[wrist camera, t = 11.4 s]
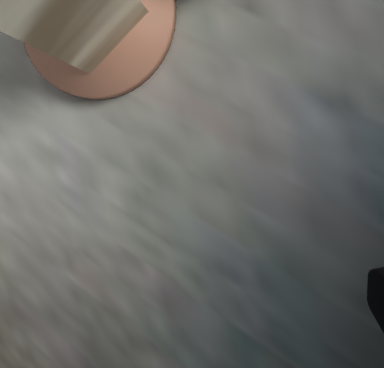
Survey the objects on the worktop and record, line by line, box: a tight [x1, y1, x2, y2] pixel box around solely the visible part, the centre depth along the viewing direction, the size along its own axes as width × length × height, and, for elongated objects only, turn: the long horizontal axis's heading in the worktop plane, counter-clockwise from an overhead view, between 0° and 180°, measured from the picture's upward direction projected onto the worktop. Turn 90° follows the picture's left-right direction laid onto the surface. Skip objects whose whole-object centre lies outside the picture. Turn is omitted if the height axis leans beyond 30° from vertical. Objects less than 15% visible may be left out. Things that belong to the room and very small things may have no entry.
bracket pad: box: [24, 0, 176, 100], centre depth 20 cm, size 9×9×1 cm
